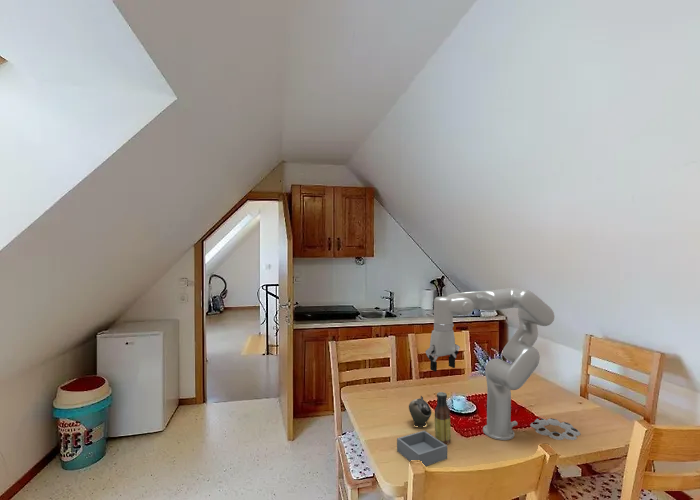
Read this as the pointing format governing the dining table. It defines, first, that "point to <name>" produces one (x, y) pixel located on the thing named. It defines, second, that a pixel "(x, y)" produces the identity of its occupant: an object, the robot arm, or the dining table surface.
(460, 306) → the robot arm
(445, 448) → the box
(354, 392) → the dining table surface
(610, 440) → the dining table surface
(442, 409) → the sauce bottle
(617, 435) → the dining table surface
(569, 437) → the grey ring with holes
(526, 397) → the dining table surface
